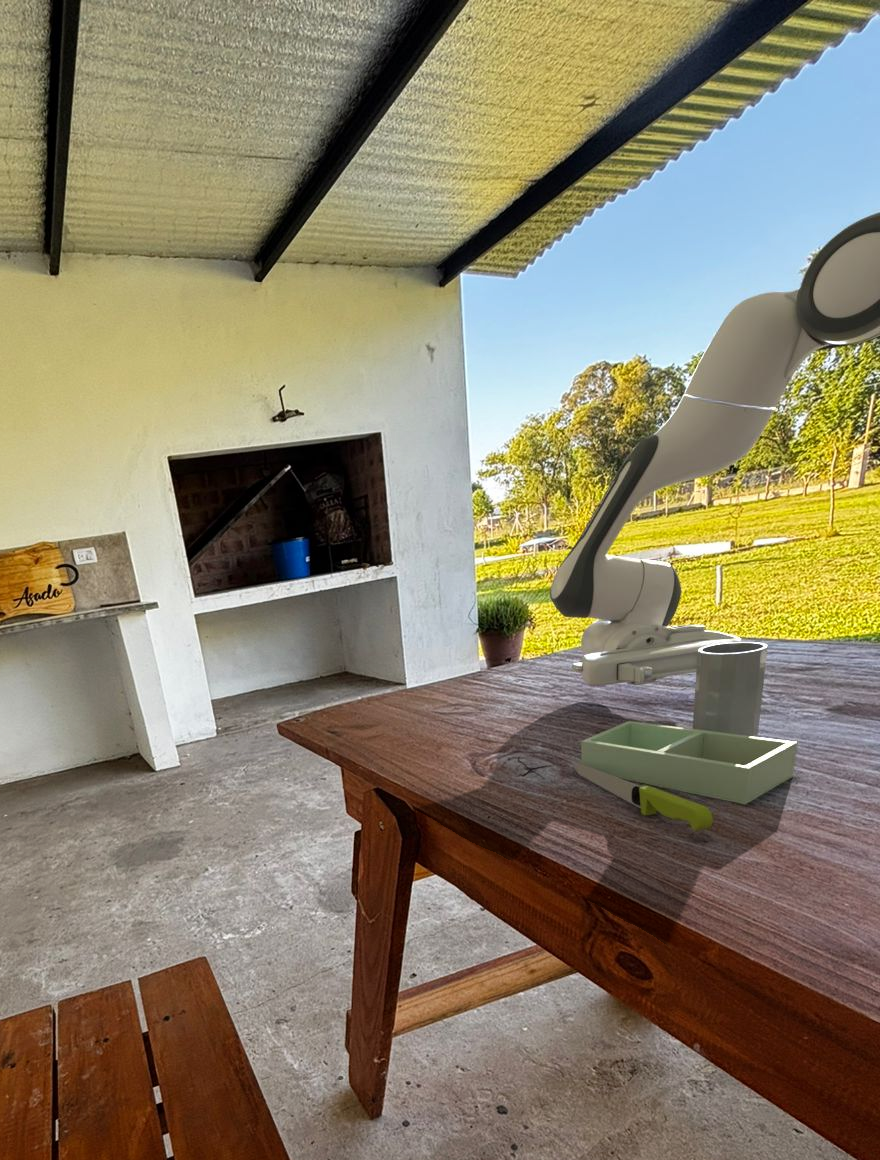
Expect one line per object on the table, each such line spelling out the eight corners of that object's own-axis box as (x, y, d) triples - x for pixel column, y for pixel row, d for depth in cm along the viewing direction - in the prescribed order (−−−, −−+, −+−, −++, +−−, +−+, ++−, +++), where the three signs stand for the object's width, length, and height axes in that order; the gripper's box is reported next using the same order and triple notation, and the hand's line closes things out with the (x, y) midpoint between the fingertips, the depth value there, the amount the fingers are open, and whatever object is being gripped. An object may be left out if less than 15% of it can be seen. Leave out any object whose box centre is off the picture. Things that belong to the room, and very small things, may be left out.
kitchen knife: (567, 783, 75) (565, 760, 74) (577, 781, 75) (575, 758, 74) (700, 843, 54) (700, 811, 53) (713, 840, 54) (714, 808, 53)
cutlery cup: (709, 736, 78) (717, 641, 74) (767, 743, 73) (779, 642, 69) (680, 750, 76) (686, 653, 71) (738, 759, 70) (748, 654, 66)
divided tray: (628, 751, 78) (629, 720, 77) (793, 779, 63) (798, 741, 62) (581, 773, 74) (581, 741, 73) (744, 808, 60) (748, 768, 58)
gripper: (567, 644, 94) (601, 659, 82) (712, 622, 91) (771, 633, 78) (568, 684, 97) (600, 705, 84) (709, 664, 93) (766, 682, 81)
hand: (684, 670), depth 81 cm, fingers open, 8 cm apart
